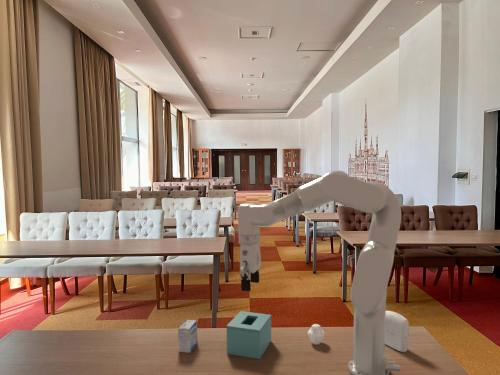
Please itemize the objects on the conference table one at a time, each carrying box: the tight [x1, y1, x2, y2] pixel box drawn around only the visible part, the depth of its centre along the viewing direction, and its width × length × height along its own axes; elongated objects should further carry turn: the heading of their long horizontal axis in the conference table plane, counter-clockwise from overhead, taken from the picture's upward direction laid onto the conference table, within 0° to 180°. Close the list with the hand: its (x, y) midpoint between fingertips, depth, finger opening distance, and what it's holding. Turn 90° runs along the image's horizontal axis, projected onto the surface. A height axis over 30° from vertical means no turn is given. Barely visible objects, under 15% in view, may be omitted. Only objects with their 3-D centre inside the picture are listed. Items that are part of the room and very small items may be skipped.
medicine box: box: [177, 319, 198, 354], centre depth 143 cm, size 8×4×9 cm, turn 168°
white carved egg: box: [307, 323, 326, 346], centre depth 146 cm, size 6×6×7 cm
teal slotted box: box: [226, 310, 272, 360], centre depth 143 cm, size 12×14×10 cm
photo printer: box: [385, 310, 410, 353], centre depth 143 cm, size 10×4×12 cm, turn 31°
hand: (250, 286), depth 141 cm, fingers open, 9 cm apart
